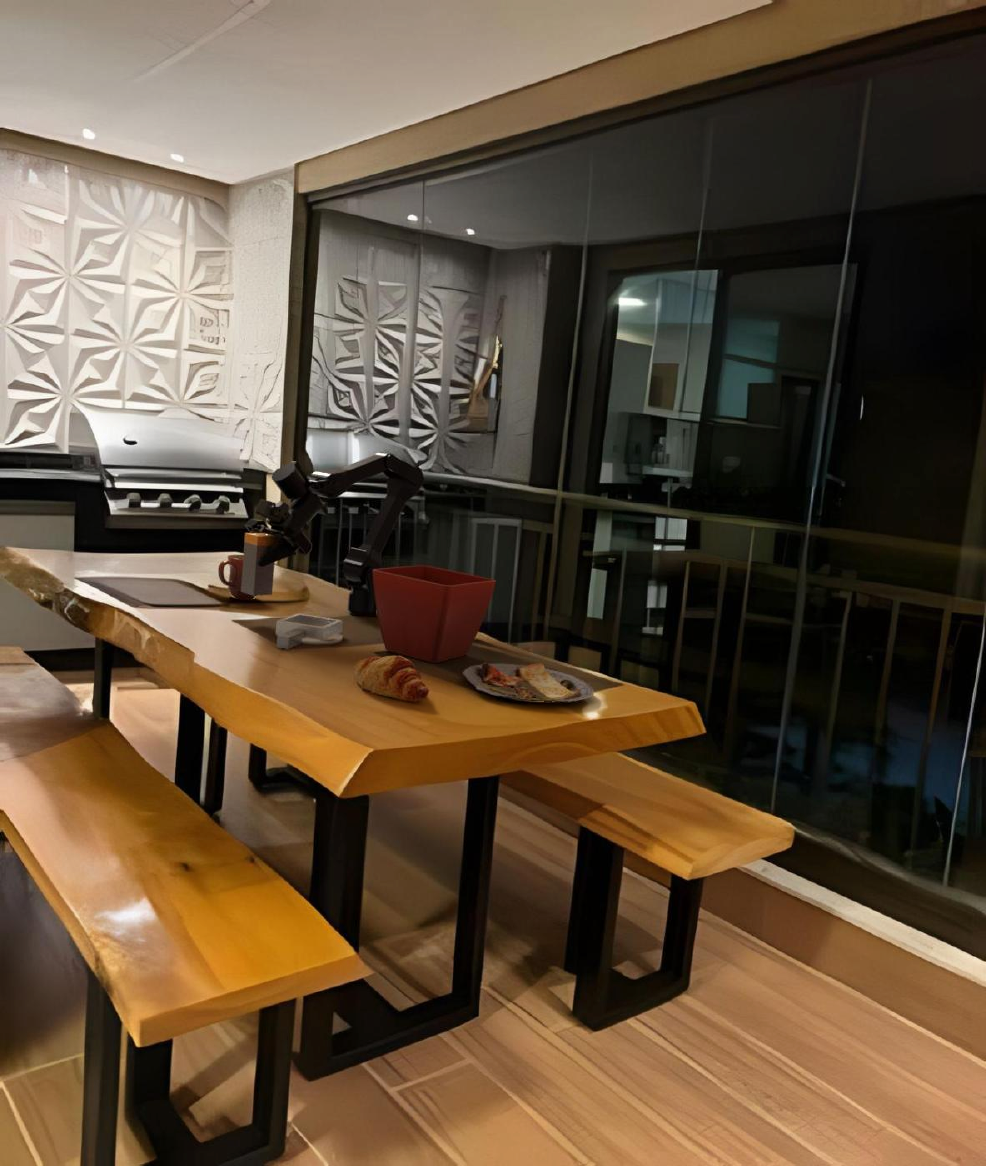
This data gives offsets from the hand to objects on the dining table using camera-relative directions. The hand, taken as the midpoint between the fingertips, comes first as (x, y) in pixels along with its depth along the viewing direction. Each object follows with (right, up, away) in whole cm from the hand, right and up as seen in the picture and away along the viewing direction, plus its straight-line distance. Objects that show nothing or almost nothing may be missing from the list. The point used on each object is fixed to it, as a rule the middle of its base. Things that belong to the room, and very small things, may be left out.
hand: (253, 563), depth 212 cm
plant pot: (+39, -19, -9) cm, 44 cm away
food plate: (+58, -25, -30) cm, 70 cm away
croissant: (+34, -23, -41) cm, 58 cm away
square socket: (+13, -16, -9) cm, 22 cm away
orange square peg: (0, -6, +2) cm, 7 cm away
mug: (-10, -8, +27) cm, 30 cm away
